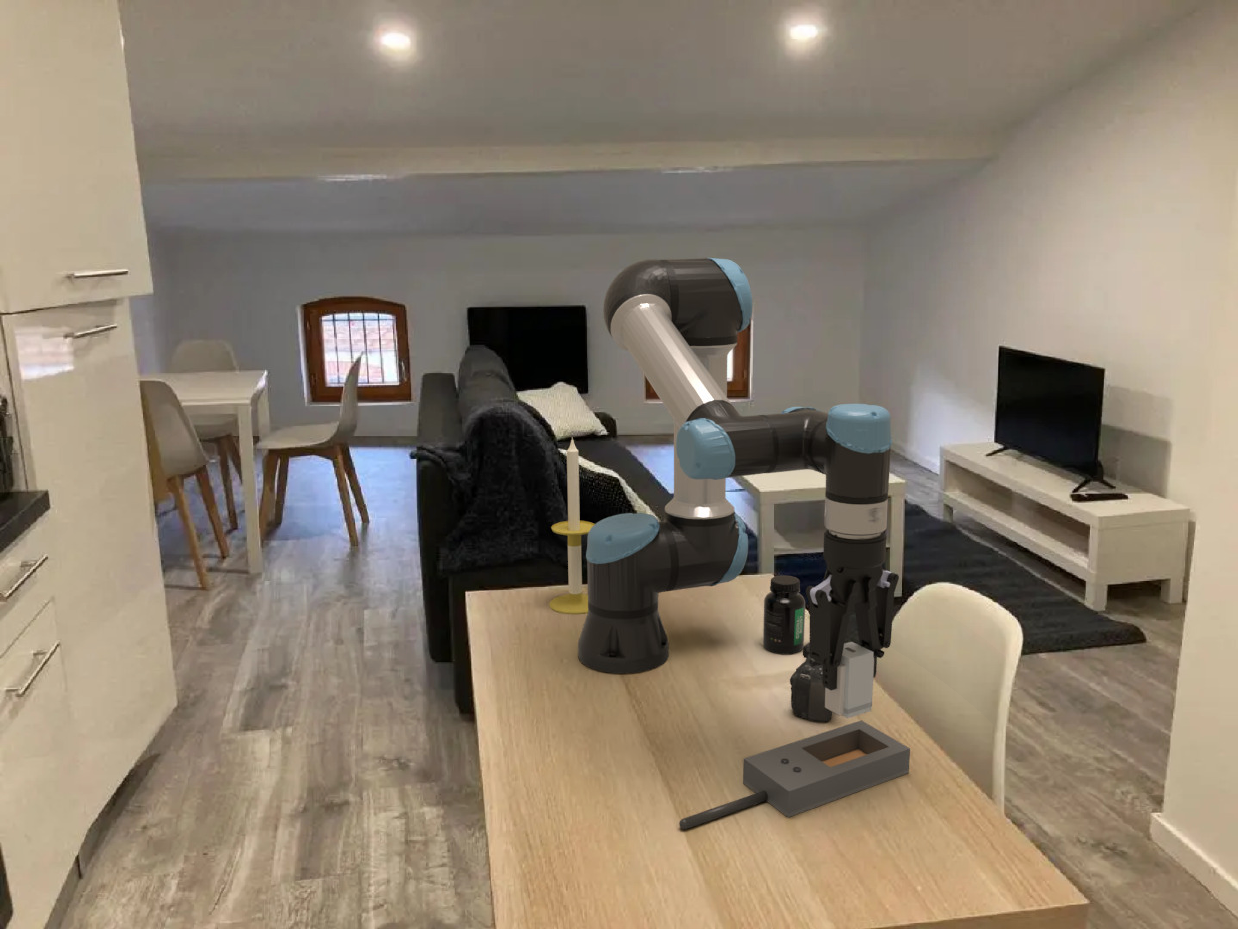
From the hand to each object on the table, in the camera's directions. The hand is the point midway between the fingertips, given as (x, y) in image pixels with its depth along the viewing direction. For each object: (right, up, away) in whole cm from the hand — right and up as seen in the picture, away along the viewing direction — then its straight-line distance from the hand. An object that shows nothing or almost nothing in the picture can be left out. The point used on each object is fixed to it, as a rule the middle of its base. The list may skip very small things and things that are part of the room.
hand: (848, 706), depth 129 cm
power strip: (-8, -10, -2) cm, 13 cm away
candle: (-38, +4, +62) cm, 73 cm away
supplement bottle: (-1, 0, +42) cm, 42 cm away
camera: (+1, -5, +22) cm, 22 cm away
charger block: (0, 0, 0) cm, 0 cm away
